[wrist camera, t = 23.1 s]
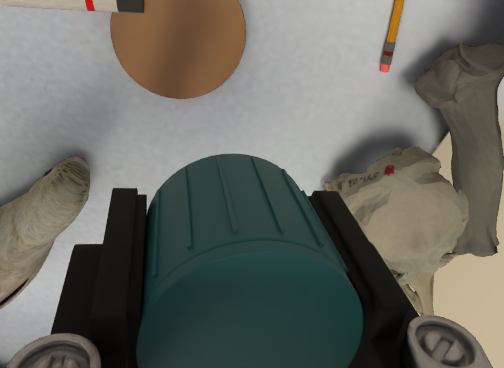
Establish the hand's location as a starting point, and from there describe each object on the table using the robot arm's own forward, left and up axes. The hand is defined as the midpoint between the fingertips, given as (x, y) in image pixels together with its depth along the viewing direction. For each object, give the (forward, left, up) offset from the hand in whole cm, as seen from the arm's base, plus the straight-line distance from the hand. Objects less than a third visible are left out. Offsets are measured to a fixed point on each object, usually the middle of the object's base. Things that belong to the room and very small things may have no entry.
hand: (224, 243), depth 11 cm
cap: (0, +1, 0) cm, 1 cm away
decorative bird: (-12, -16, -23) cm, 31 cm away
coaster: (0, 0, -23) cm, 23 cm away
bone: (+27, -6, -17) cm, 32 cm away
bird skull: (+22, -17, -24) cm, 37 cm away
